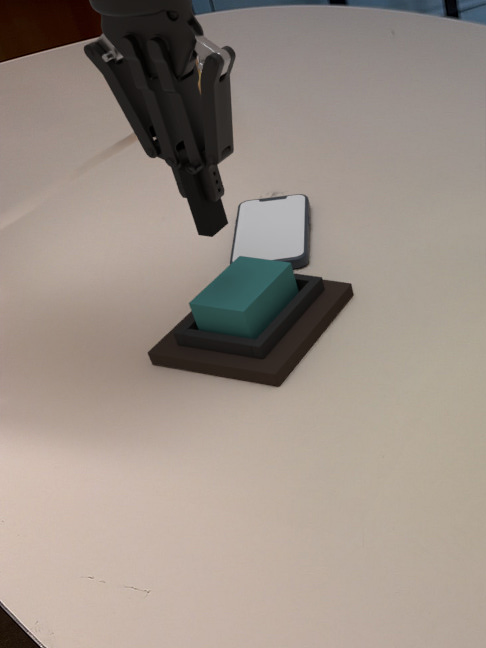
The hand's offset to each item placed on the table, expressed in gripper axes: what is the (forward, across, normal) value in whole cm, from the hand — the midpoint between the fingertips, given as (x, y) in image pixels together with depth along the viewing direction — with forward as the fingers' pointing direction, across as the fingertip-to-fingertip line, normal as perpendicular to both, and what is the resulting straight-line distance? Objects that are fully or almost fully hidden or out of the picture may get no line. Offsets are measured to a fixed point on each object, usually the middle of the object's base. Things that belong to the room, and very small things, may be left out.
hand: (213, 228), depth 76 cm
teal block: (+10, +2, 0) cm, 10 cm away
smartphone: (+12, -6, +17) cm, 21 cm away
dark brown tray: (+11, +2, 0) cm, 11 cm away
